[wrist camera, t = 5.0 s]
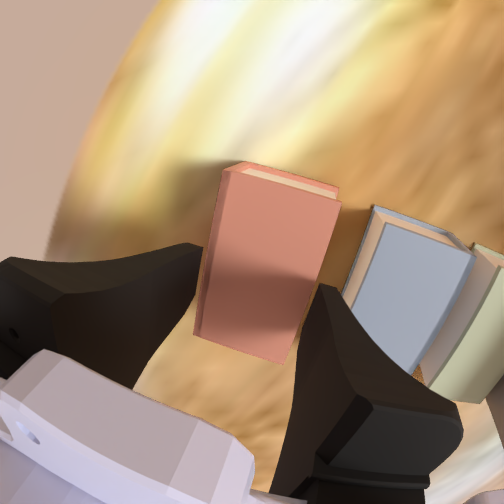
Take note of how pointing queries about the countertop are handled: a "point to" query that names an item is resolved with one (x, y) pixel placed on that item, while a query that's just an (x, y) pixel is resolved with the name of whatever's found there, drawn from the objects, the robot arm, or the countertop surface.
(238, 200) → the terracotta book
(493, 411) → the stone bookend
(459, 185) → the countertop surface
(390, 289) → the slate book
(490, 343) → the sage book
